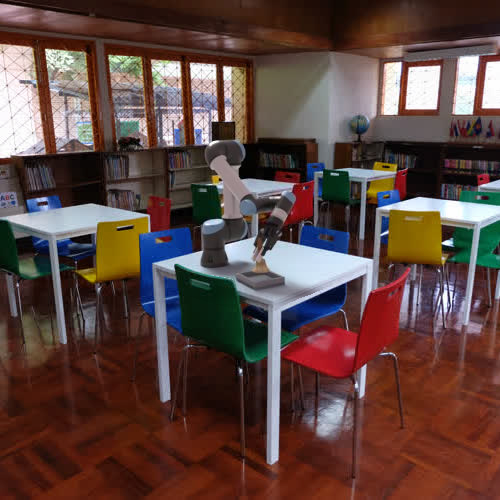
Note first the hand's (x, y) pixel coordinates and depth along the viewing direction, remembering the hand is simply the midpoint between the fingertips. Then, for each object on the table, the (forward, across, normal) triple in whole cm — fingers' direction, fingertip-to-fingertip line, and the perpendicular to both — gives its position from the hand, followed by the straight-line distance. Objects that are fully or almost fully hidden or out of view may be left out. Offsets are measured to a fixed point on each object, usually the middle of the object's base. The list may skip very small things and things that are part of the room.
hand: (255, 260), depth 230 cm
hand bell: (+1, 0, -7) cm, 7 cm away
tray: (+5, 0, -11) cm, 12 cm away
